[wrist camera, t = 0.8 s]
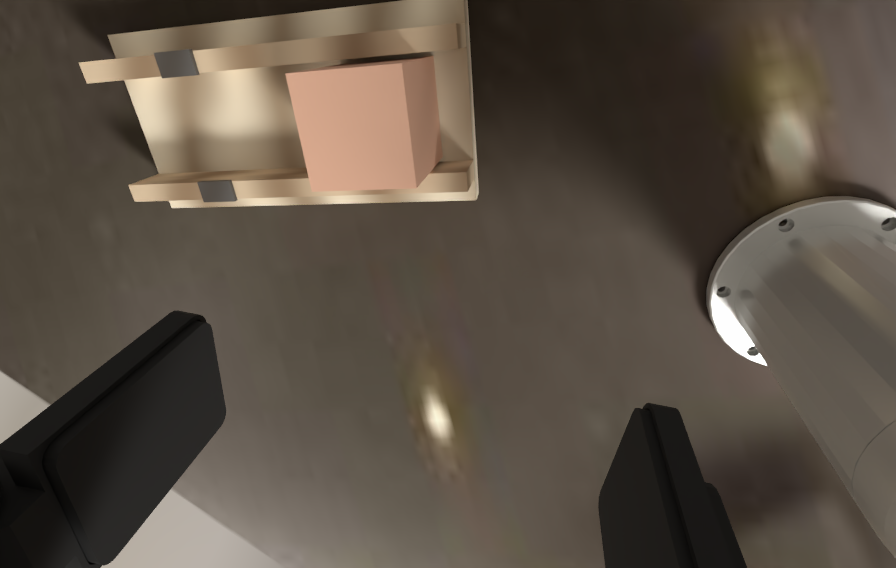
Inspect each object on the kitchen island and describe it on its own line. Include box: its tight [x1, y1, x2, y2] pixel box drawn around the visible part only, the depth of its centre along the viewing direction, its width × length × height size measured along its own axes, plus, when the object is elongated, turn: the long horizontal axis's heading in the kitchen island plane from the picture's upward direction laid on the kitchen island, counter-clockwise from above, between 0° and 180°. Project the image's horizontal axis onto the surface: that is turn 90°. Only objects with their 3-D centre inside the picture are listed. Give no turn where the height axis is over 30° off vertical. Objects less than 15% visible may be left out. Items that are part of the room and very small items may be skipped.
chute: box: [79, 0, 479, 208], centre depth 31 cm, size 24×12×5 cm, turn 96°
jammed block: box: [285, 56, 443, 192], centre depth 27 cm, size 6×6×7 cm
